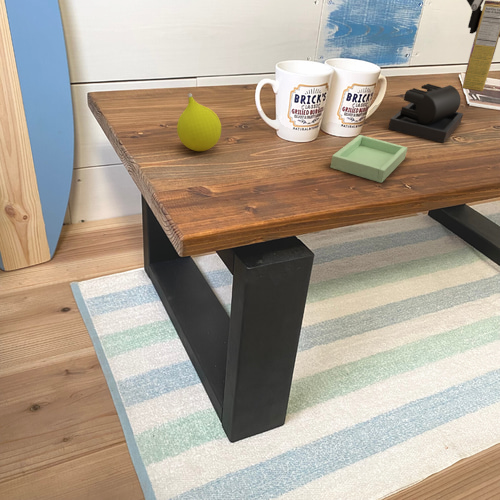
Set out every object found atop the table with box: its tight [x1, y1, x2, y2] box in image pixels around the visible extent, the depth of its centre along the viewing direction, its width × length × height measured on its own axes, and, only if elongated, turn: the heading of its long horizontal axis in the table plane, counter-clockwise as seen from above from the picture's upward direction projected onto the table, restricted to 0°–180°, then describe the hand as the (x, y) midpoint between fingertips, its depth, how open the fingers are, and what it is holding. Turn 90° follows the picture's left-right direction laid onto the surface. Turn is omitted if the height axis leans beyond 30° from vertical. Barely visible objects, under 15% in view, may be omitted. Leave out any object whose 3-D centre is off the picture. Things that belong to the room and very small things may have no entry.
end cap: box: [400, 83, 462, 126], centre depth 98 cm, size 10×7×7 cm
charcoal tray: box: [387, 102, 464, 144], centre depth 100 cm, size 11×14×2 cm
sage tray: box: [329, 134, 408, 184], centre depth 83 cm, size 9×12×2 cm
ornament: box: [176, 92, 222, 152], centre depth 81 cm, size 7×7×10 cm
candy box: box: [461, 0, 500, 92], centre depth 100 cm, size 9×4×15 cm, turn 158°
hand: (487, 33), depth 99 cm, fingers closed on candy box, 4 cm apart
